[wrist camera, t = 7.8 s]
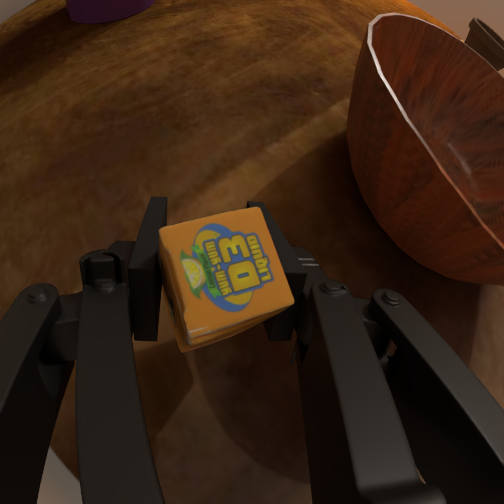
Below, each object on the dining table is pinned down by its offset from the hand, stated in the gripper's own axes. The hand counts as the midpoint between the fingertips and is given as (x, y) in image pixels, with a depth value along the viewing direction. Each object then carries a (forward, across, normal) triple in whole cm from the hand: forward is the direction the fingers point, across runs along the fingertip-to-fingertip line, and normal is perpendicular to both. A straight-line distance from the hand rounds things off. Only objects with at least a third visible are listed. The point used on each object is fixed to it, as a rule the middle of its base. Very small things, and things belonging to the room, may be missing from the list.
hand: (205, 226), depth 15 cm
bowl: (+10, +21, +1) cm, 23 cm away
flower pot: (+33, +49, +24) cm, 63 cm away
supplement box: (0, 0, -5) cm, 5 cm away
